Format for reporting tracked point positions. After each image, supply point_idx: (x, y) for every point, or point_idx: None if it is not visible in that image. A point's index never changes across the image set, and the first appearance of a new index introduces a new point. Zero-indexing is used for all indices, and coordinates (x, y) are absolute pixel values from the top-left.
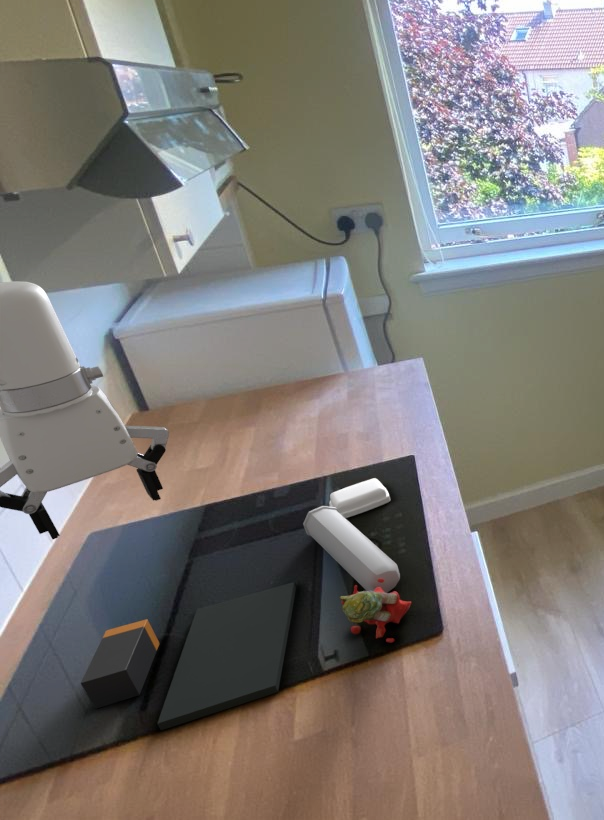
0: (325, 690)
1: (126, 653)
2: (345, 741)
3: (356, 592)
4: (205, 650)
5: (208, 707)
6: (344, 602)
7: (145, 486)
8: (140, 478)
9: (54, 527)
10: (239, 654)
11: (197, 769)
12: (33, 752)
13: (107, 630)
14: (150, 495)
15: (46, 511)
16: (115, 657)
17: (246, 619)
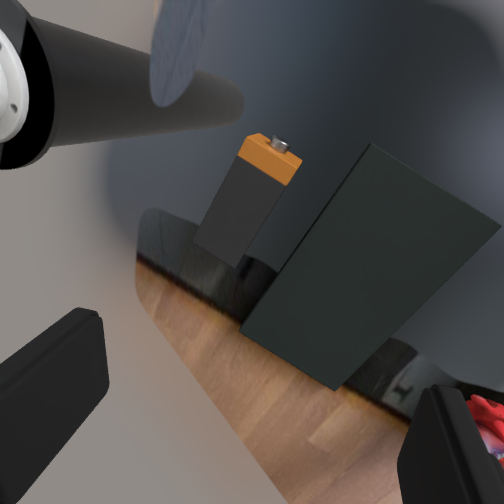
0: (361, 421)
1: (246, 233)
2: (330, 476)
3: (496, 421)
4: (324, 264)
5: (279, 356)
6: (474, 401)
7: (425, 485)
8: (454, 482)
9: (80, 420)
10: (343, 312)
11: (244, 394)
12: (153, 236)
13: (248, 139)
14: (405, 469)
15: (15, 501)
16: (234, 228)
17: (393, 250)
